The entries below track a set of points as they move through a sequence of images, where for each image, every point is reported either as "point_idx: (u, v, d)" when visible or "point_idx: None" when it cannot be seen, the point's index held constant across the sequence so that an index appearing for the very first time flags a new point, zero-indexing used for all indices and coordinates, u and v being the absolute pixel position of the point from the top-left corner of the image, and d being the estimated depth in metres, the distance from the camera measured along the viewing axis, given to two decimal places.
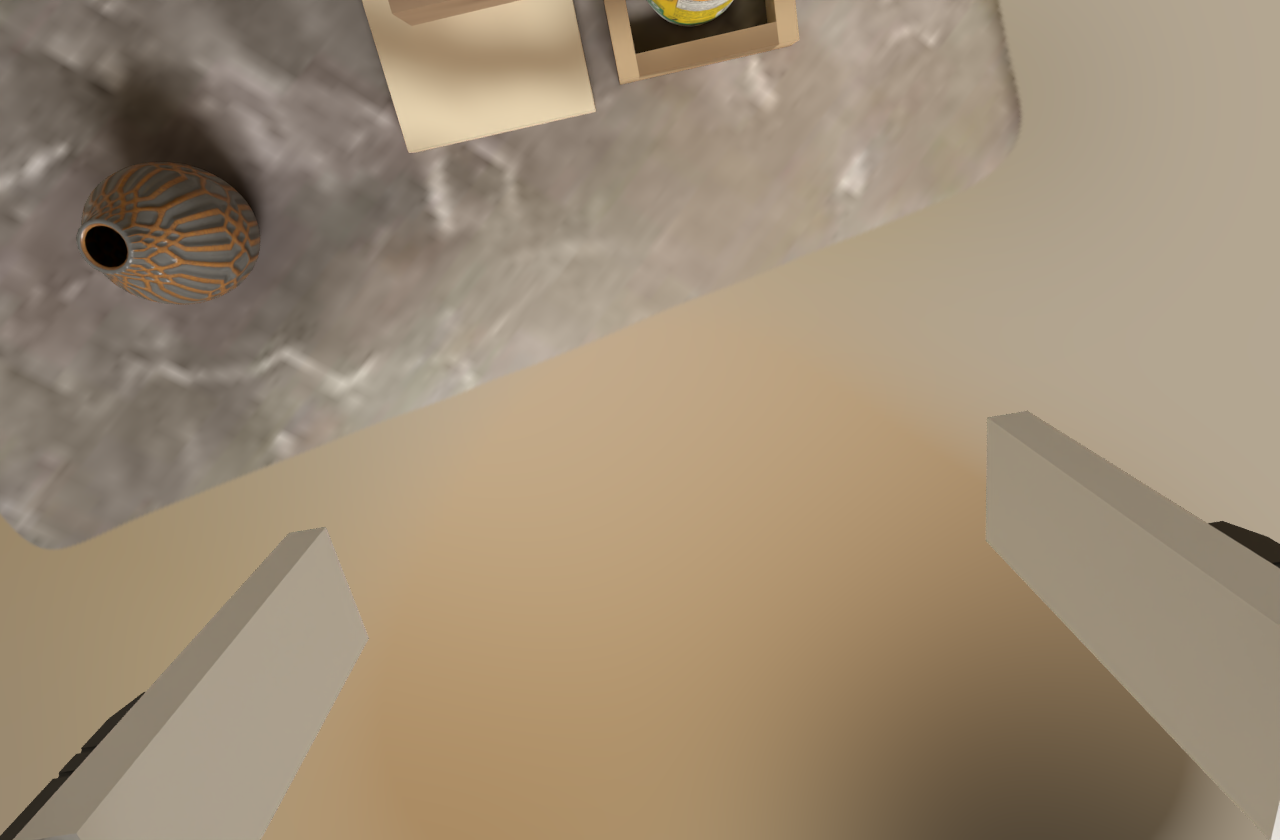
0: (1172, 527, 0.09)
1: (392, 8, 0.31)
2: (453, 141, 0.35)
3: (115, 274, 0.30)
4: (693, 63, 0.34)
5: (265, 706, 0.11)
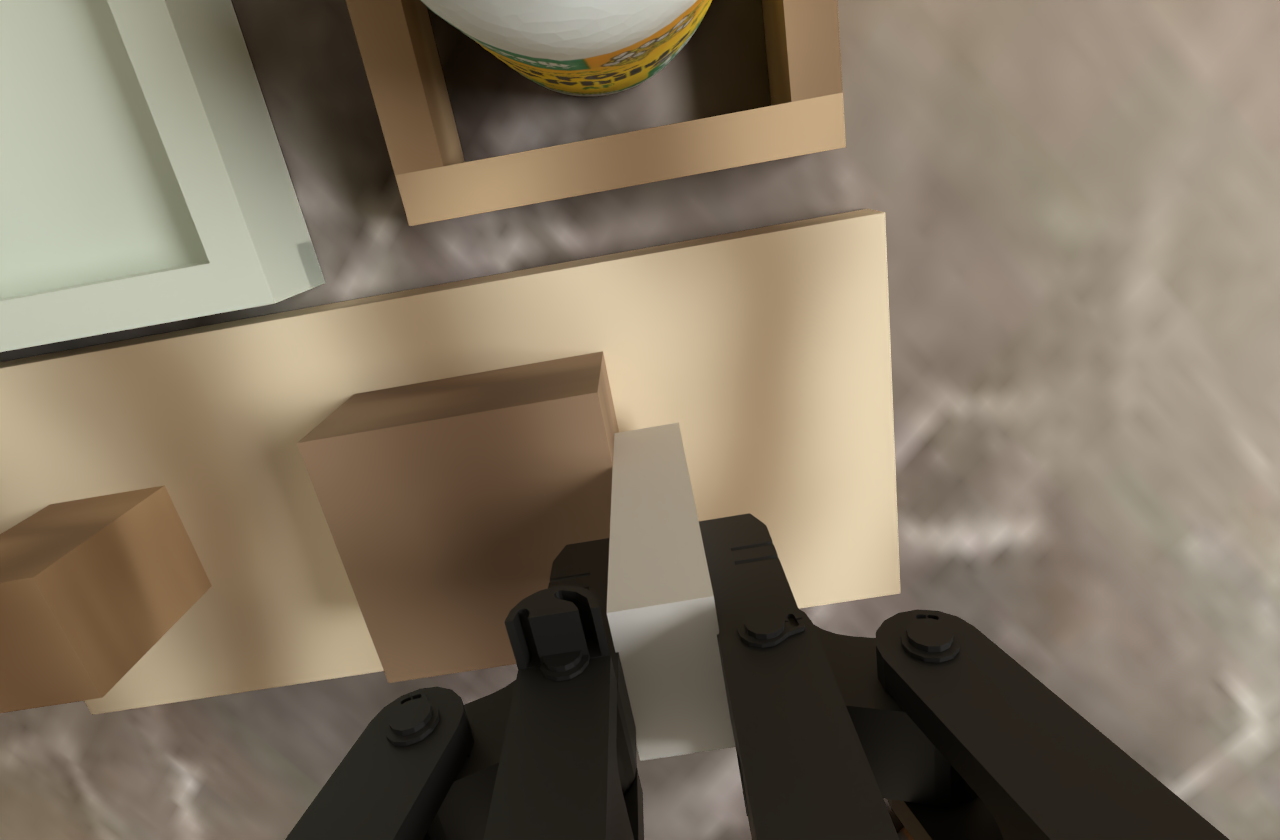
0: (671, 517, 0.11)
1: None
2: (895, 514, 0.18)
3: None
4: None
5: None
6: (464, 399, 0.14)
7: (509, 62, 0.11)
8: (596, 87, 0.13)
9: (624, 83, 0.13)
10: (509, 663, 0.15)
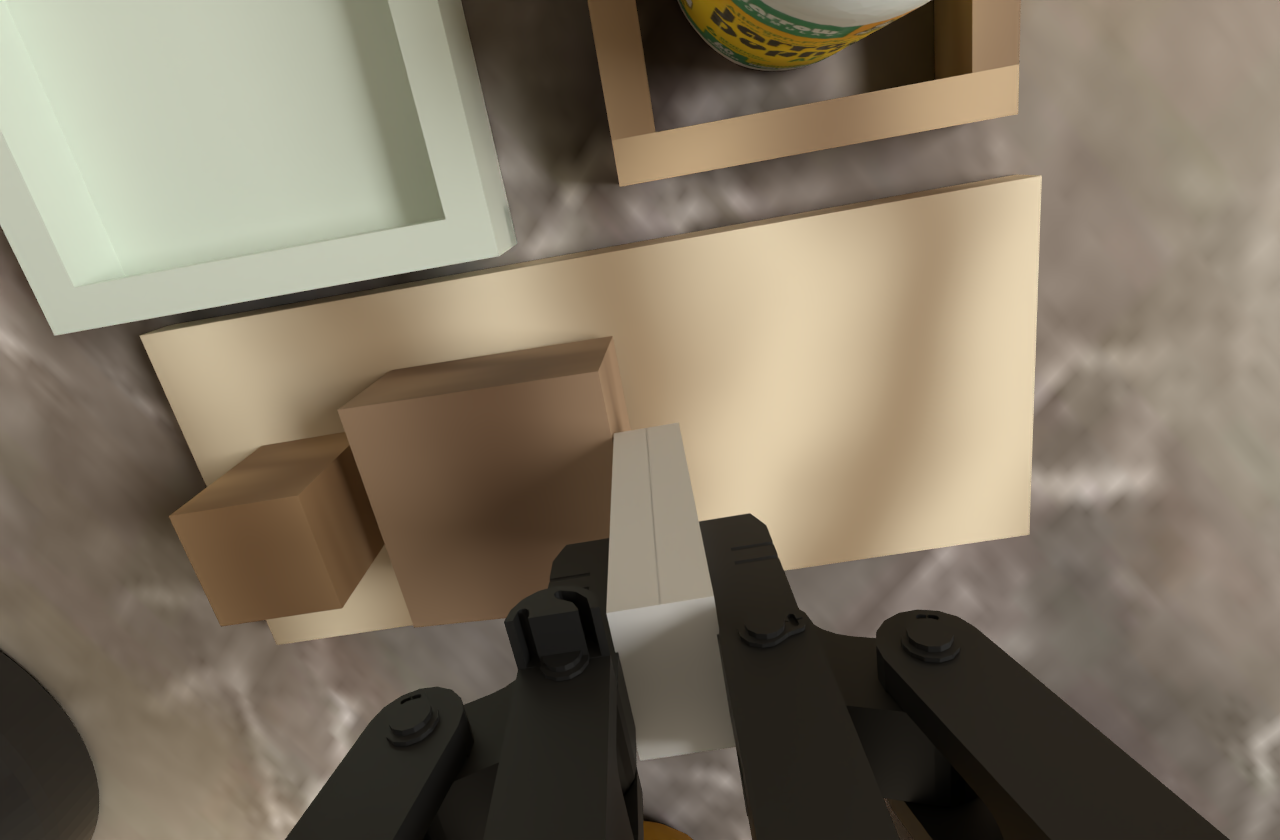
0: (672, 517, 0.11)
1: None
2: (1029, 459, 0.19)
3: None
4: None
5: None
6: (483, 376, 0.16)
7: (754, 34, 0.13)
8: (804, 59, 0.14)
9: (825, 56, 0.15)
10: None
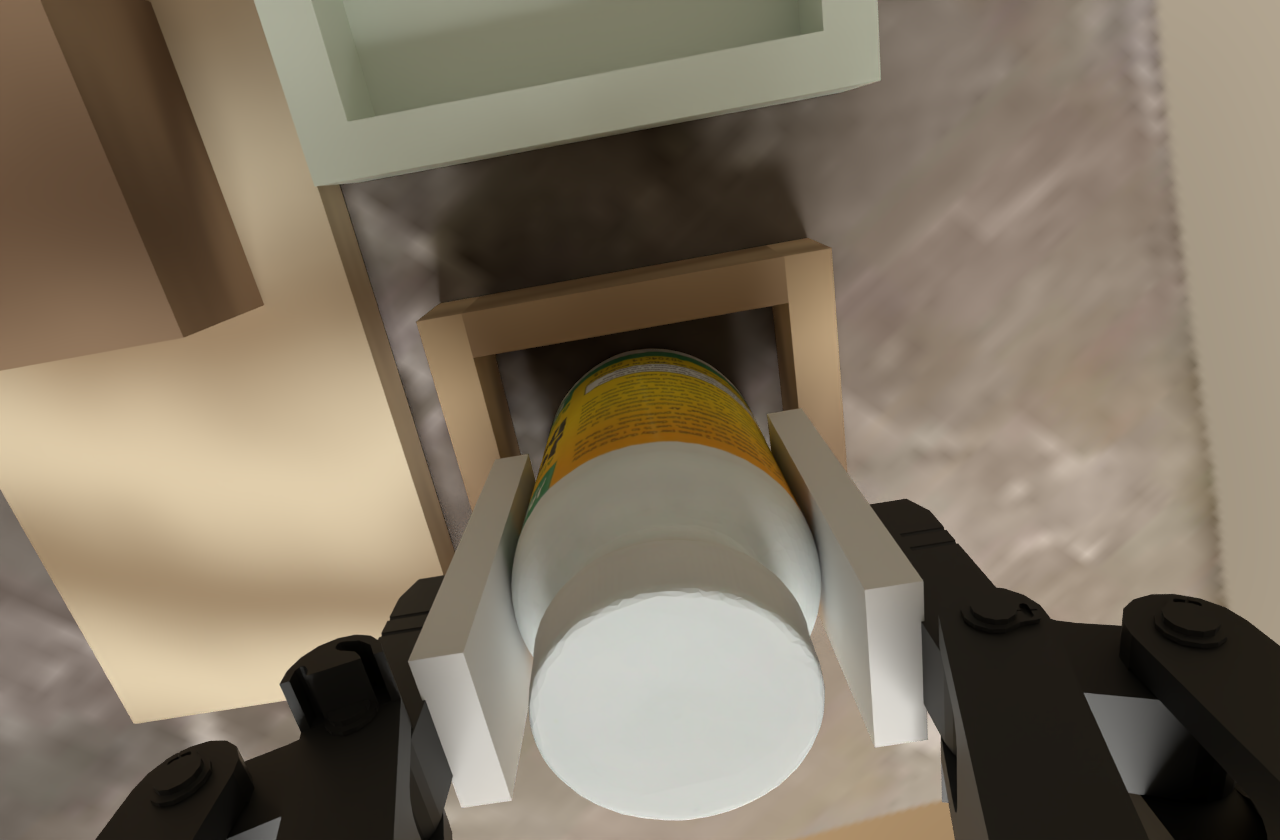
0: (838, 502, 0.11)
1: None
2: (215, 709, 0.19)
3: None
4: None
5: None
6: (153, 174, 0.12)
7: (539, 473, 0.14)
8: None
9: None
10: None
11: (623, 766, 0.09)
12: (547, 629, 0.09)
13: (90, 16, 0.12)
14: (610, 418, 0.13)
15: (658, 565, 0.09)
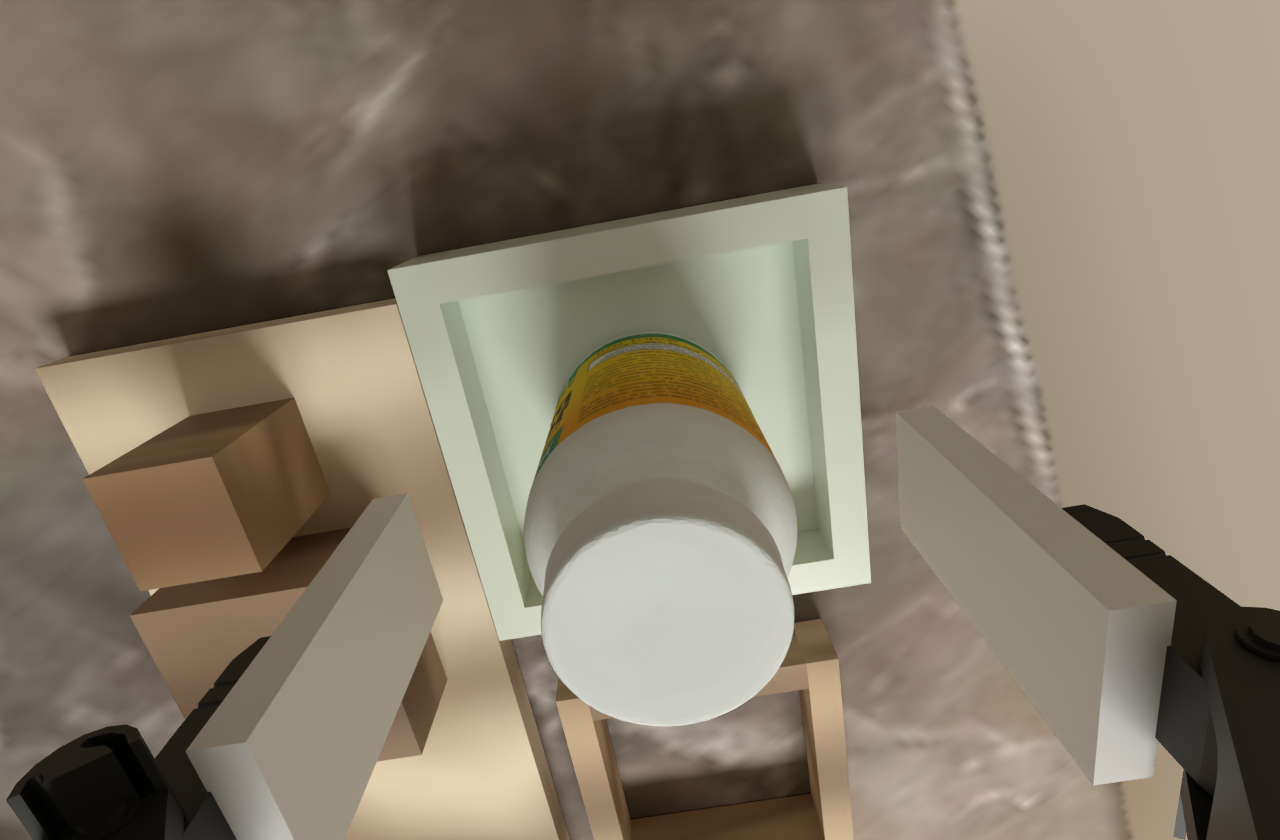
0: (1025, 508, 0.10)
1: None
2: None
3: None
4: None
5: (371, 651, 0.12)
6: None
7: (547, 438, 0.15)
8: None
9: None
10: (175, 698, 0.19)
11: (622, 676, 0.11)
12: (557, 556, 0.11)
13: None
14: (611, 387, 0.14)
15: (652, 500, 0.10)
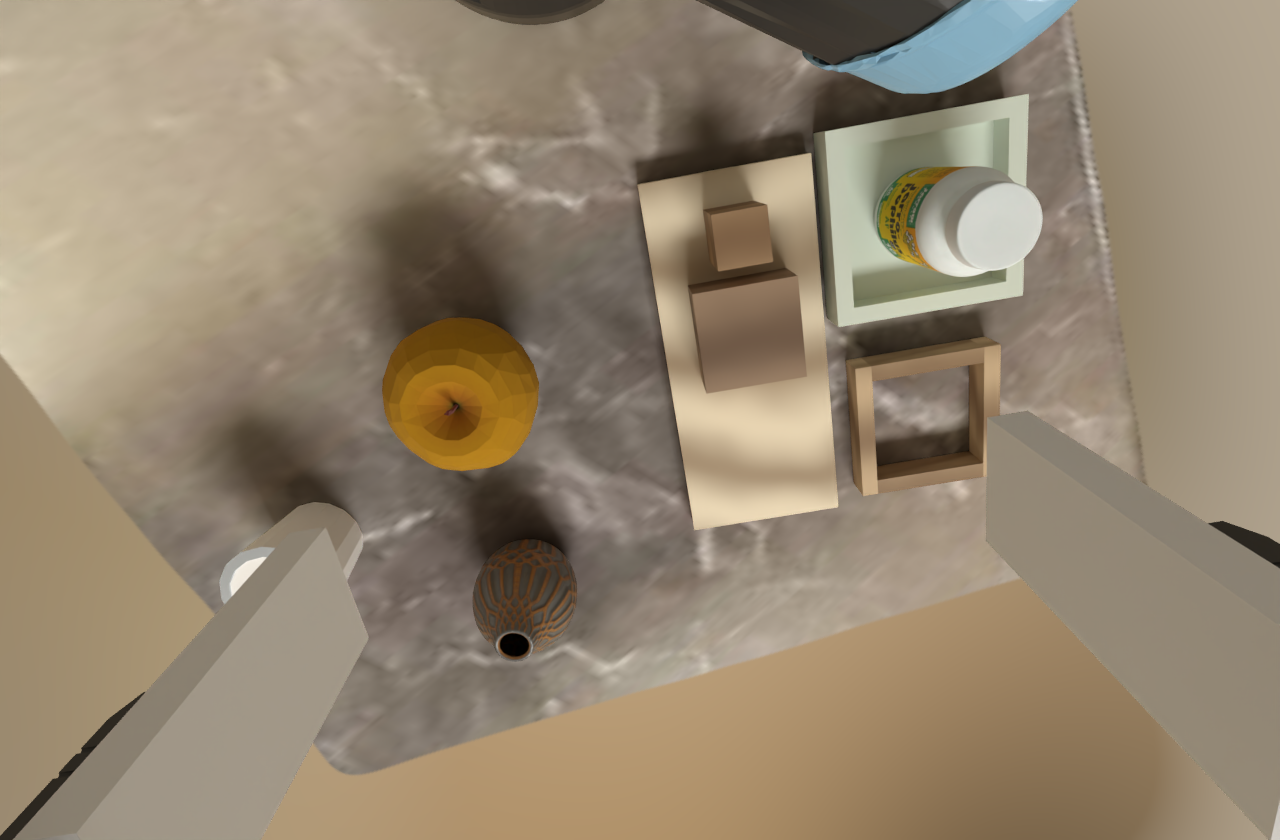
0: (1172, 527, 0.09)
1: (707, 390, 0.41)
2: (729, 523, 0.47)
3: None
4: (918, 485, 0.46)
5: (265, 707, 0.11)
6: None
7: (905, 198, 0.36)
8: (886, 221, 0.38)
9: (885, 230, 0.39)
10: (698, 341, 0.40)
11: (980, 247, 0.32)
12: (961, 203, 0.32)
13: None
14: (943, 170, 0.35)
15: (997, 181, 0.31)
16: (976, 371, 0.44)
